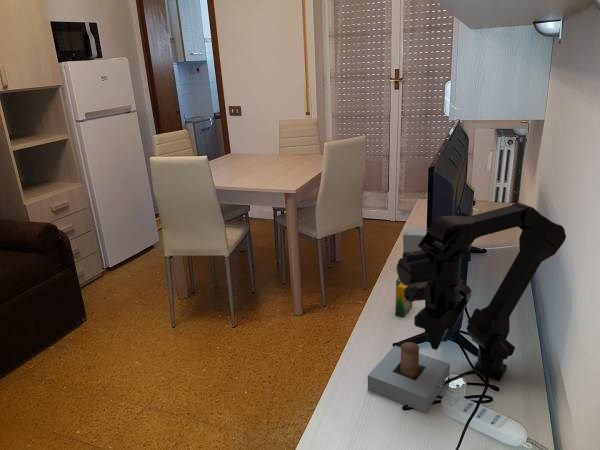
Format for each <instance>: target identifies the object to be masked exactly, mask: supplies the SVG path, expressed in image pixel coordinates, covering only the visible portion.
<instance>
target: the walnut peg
mask: <svg viewBox="0 0 600 450" xmlns="http://www.w3.org/2000/svg"><path fill="white" fill-rule="evenodd" d="M400 347H401V372H400V375H402V376H405V377H408V378H410V379H413V380H417V379H418V365H419V354H420V346H419V345H418V344H417V343H415V342H412V341H411V342H410V341H408V342H403V343H402V344H401V345H400Z"/></svg>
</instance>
